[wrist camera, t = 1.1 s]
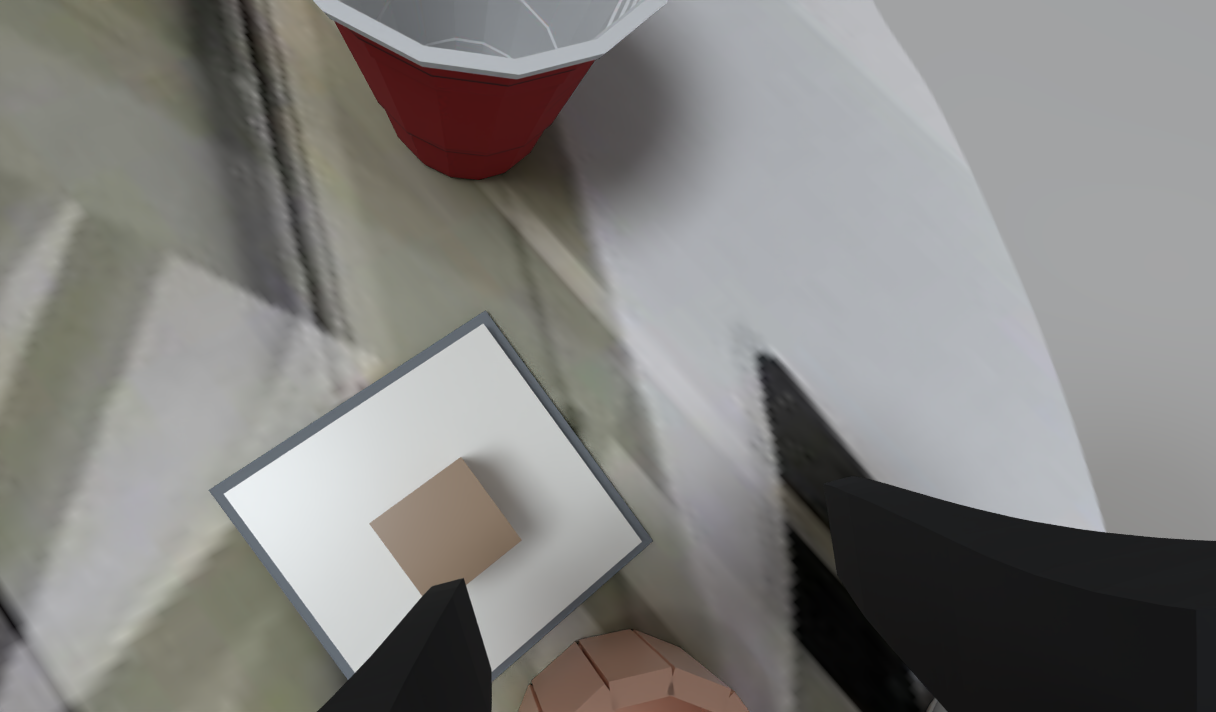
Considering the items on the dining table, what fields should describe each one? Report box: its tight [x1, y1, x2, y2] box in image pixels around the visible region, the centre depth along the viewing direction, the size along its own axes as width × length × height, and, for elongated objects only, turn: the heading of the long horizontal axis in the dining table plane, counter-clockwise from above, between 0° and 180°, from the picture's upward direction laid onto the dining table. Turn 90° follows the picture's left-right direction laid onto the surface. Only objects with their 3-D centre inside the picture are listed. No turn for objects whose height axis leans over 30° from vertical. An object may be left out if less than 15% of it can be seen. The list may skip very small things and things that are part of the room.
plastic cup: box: [313, 0, 668, 180], centre depth 19 cm, size 11×11×12 cm
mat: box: [209, 310, 653, 681], centre depth 22 cm, size 11×11×1 cm
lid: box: [224, 324, 642, 672], centre depth 19 cm, size 10×10×5 cm
